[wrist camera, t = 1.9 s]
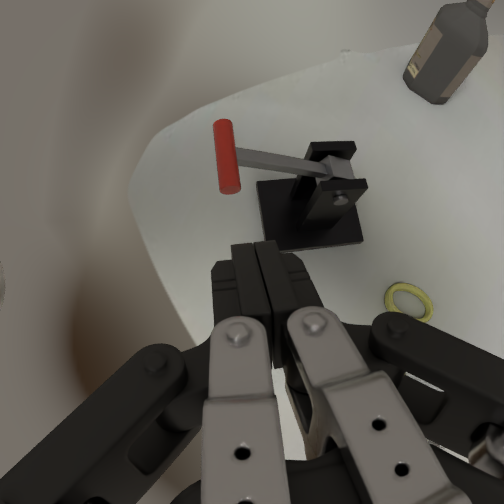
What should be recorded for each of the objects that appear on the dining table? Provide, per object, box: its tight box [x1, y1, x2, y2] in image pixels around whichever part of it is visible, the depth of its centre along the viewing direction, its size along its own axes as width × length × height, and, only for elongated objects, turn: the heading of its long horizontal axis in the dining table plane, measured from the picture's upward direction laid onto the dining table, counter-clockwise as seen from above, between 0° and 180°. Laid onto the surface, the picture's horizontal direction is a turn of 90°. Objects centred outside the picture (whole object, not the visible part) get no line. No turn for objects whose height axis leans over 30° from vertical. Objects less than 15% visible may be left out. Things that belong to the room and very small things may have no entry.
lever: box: [213, 119, 355, 195], centre depth 27 cm, size 13×6×2 cm, turn 96°
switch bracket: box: [256, 141, 368, 253], centre depth 34 cm, size 12×9×13 cm
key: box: [385, 283, 433, 323], centre depth 36 cm, size 7×12×2 cm, turn 175°
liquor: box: [403, 0, 495, 104], centre depth 33 cm, size 9×9×30 cm
